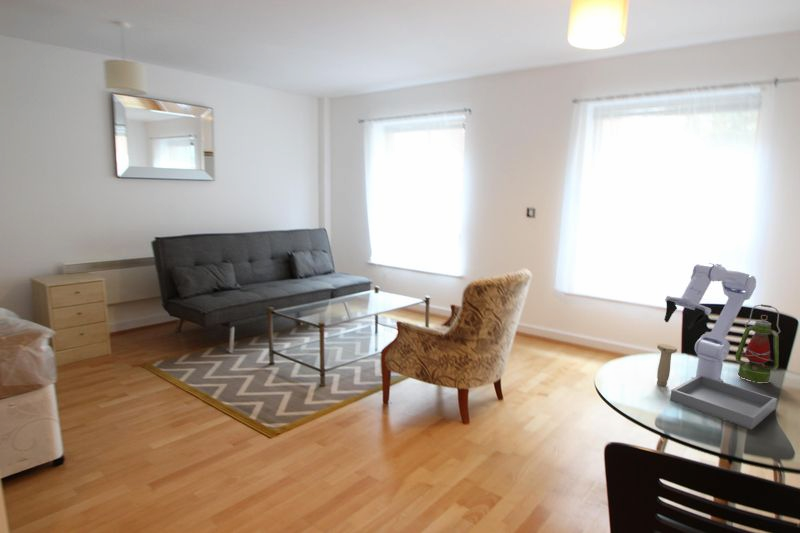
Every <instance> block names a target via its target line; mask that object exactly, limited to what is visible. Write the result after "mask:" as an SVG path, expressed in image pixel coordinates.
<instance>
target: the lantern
mask: <svg viewBox="0 0 800 533" xmlns="http://www.w3.org/2000/svg"><path fill="white" fill-rule="evenodd" d="M756 307H761V308H762V307H764V308H768V309H774V310H775V311H776V312H777V318H776V319H777V320H776V327H777V329H778V332H777V331H776V330H774V329H772V326H771V325H772V323H771V322H769V321H767V320H768V318H769V317H768V315H766V314H761V315H760V319H758V320H755V321H754V322H755V323H754V325H753V326H752V325H751V326H747V325H748V324H749V323H750V322H751V319H752V315H753V311H754V309H755V308H756ZM763 316H766V318H765V319H763ZM779 318H780V312H779V310H778V309H777V307H774V306H772V305H769V304H762V303H761V304H758V305H754V306H753V307H752V308H751V311H750V315H749V320H748V321H747V322H746V323H745V324H744V326H745V329H744V332H743V334H742V337H741V339H740V343H739V345H738V348H737V350H736V353H735V362H737V363H738V364H739V367H738V372H737V373H738V375H739V376H740V377H742V378H745V379H748V380H751V381H755V382H768V381H769V380H770V378H771V374H772V373H771V372H772V371H776V370H777V369H778V367H779V356H780V355H779V353H780V352H779V334H780V333H781V330H780V327H779V320H780V319H779ZM751 331H752V332H754V334H753V335H752V337H751V339H750V341H749V342H748V344H747V346H745V345H746V343H747V339H748V337H749V334H750V332H751ZM769 335H772V336H773V338H772V341H773V345H772V348H773V350H772V351H773V352H772V356H773V359H771V344H770V340H769V339H770V338H769ZM744 348H745V349H744ZM743 356H745V358H747V360H748V362H746V361H744V360H741V359H742V357H743ZM769 361H771V362H773V363H772V366H765V365H764V364H765V363H767V362H769ZM740 377H739V378H740Z"/></svg>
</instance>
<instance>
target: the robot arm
mask: <svg viewBox="0 0 800 533" xmlns="http://www.w3.org/2000/svg"><path fill="white" fill-rule="evenodd" d="M711 282H721V286H722V291H723V295H725V296H726V297H728V299H727V301H726V303H725V304H724V306H723V309H722V310H721V311H720V314H719V316H718V317H717V320H716V321H715V323H714V325H713V327H712V329H711V331H709V332H706V333H704V334H702V335H701V336H700V338H699V339H697V341H696V342H695V344H694V351H695V353H696V356H697V357H698V360H697V361H698V362H697V368H696V374H695V375H693V376H691V379H693V378H695V377H696V376H698V375H702V376H705V377H708V378H711V379H715V380H718V381H721V382H724V379H723V378H721V377H722V371H723V362H724V361H725V360H726V359H727V358H728V356H729V352H730V349H731V344H730V342H729V340H728V339H727V338H726V337H727V336H728V334H729V332H730V330H731V328H732V326H733V324H734V322H735V320H736V318H737V316H738V314H739V312H740V310H741V308H742V307H743V305H744V302H745V301H747V300H750V298H751V297H752V295H753V293H754V291H755V290H756V287H757V280H756V277H755V276H754V275H750V274H748V273H746V272H745V273H744V272H741V271H737V270H736V271H735V270H732V269H731V270H730V269H727V268H726V267H724V266H722V264H721V263H720V264H719V263H715V264H714V263H703V262H700V263H697V264H695V265H694V267H693V269H692V274H691V276H690V282H689V283H688V285H687V287H686V288H685V290H684V292H683V294H682V296H681V297H676V296H670V295H667V296H666V298H665V299H664V301H665V303H666V311H665V315H664V322H665V323H669V321H670V319H671V317H672V315H674V313H675V311H676V310H678V307H677V306H679V307H683V308H686V309H690V310H693V313H692V315H691V318H690V320H689V321H688V323H687V325H686V328H687V330H689V331H690V330H691V329H692V328H694V327H695V325H697V324H698V323H699V322H701V321H702V320H704V319H705V318H706V316H710V315H711V313H712V309H711V308H710V307H708V306H705V305H702V304H700V303H701V301H702V299H703V296H704V295H705V294H706V292H707V290H708V288H709V286H710V285H711Z"/></svg>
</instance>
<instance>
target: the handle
mask: <svg viewBox="0 0 800 533" xmlns="http://www.w3.org/2000/svg"><path fill="white" fill-rule="evenodd" d="M657 350H659V351H660V357H659V362H658V368H657V373H656V374H657V376H656V379H657V380H656V383H657V385H659V386H662V387H663V386H664V387H665V386H667V385H668V381H669V378H670V373H671V363H672V362H671V360H672V354H675V353H677V352H678V347H676V346H674V345H669V344H666V343H658V344H657Z"/></svg>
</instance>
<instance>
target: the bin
mask: <svg viewBox="0 0 800 533" xmlns="http://www.w3.org/2000/svg"><path fill="white" fill-rule="evenodd" d="M670 390H671V391H670V398H669V401H670V402H673V403H676V404H679V405H681V406H684V407H687V408H690V409H693V410H695V411H698V412H701V413H703V414H706V415H709V416H712V417H715V418H718V419H721V420H723V419H725V420H727V421H726V422H728V421H731V422H733V423H732V424H734V423H735V424H734V425H736V424H737V425H736V426H739V427H743V428H745V429H748V430H753V429H754V428H756V427H757V426H758V425H759V424H760V423H761V422H763V421H764V420H765V419H766V418H767V417H768V416H770V415H771V414H772V413H773V412H775V410H776V407H777V402H778V398H776V397H773V396H770V395H766V394H763V393H759V392H756V391H753V390H751V389H747V388H744V387H740V386H737V385H734V384H730V383H727V382H724V381H718V380H715V379H711V378H708V377H705V376H702V375H698V376H696V377H695V378H693V379H692V378H691V379H689V380H687V381H685V382H683V383H681V384H679V385H678V386H676V387H674V388H672V389H670ZM725 420H724V421H725ZM731 422H730V423H731Z"/></svg>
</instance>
